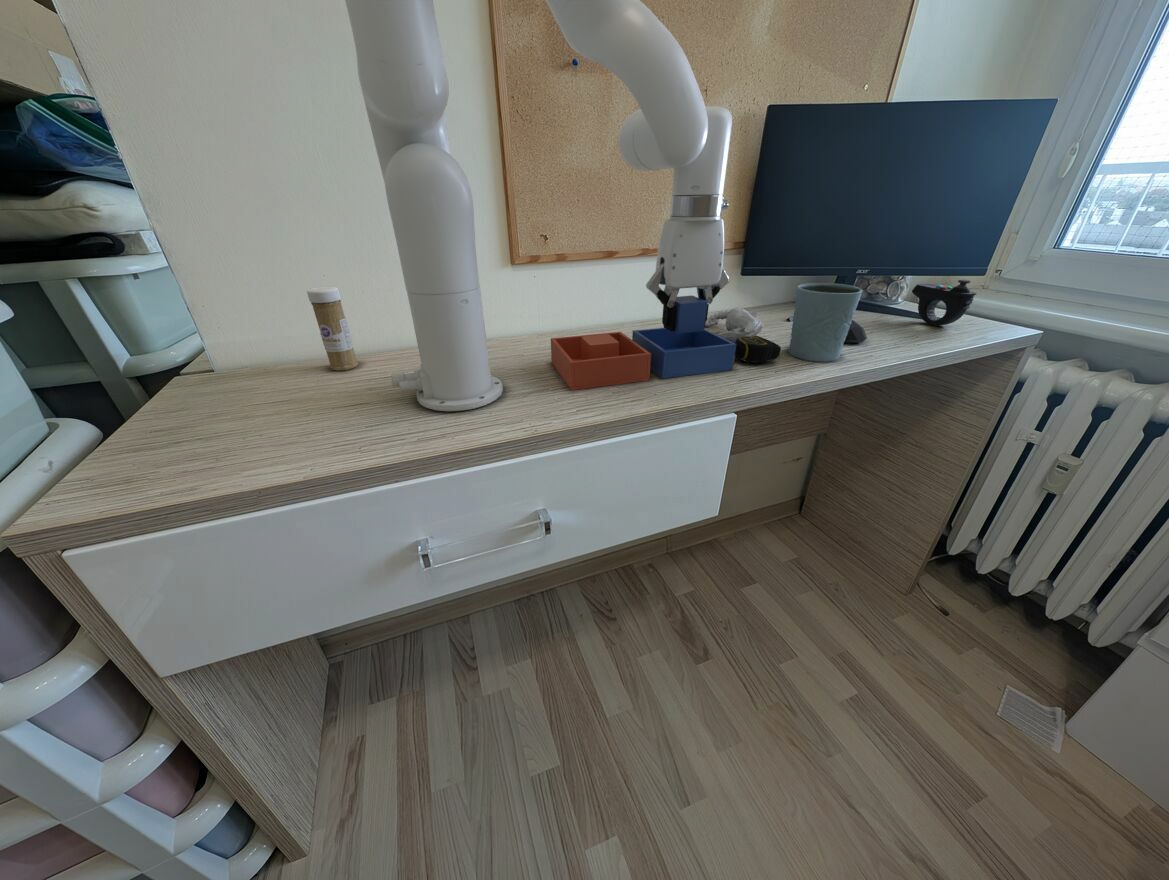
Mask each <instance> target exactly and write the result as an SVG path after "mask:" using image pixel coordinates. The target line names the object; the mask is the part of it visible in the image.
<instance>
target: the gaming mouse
mask: <svg viewBox="0 0 1169 880" xmlns="http://www.w3.org/2000/svg"><path fill="white" fill-rule="evenodd" d="M867 339H868V337H867V333H866V330H865V328H864V327H863V326H862V325H860V324H859V322H857V321H855V320H853V319H852V322H851V325H850V327H849V330H848V333H847V336H846V339H845V341H844V343H849V344H854V343H862V342H865V341H866V340H867Z"/></svg>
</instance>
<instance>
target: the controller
mask: <svg viewBox="0 0 1169 880" xmlns="http://www.w3.org/2000/svg"><path fill="white" fill-rule="evenodd" d="M957 283H959V284H958V285H956V286H951V285H950V286H949V285H947V286H944V285H942V284H939V285H936V284H929V283H918V284H916V285H915V286H914V287H913V289H912V290H911V293H912V294H913V295H914V296H916V297H917V298H918V303H917V304H918V305H917V312H918V315H919V317H920V318H921V320H922V321H923V322H924V323H926V324H928V325H931V326H937V327H938V326H946V325H950V324H953V323H955V322H957V321H958V320H959V319H961V318H962V317H963V316H964V314H965V313H966V312H967V311H968V310H969V309H970V308H971V307H970V306H971V304H972V303H973V301H974V297H975V296H976V295H977V294H978V293H977V292H975V291H971V289H970V288H969V287H968V285H967V284H970V283H971V280H969V279H958V280H957ZM940 302H943V303H944V305H945V308H946V309H945V312H944V314H943V316H942V317H941V318H939V317H938V316H937V315H936V313H935V309H936V307H937V305H938V304H939V303H940Z"/></svg>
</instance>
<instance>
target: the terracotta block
mask: <svg viewBox="0 0 1169 880" xmlns="http://www.w3.org/2000/svg"><path fill="white" fill-rule="evenodd" d="M616 356H619V342H618V341H617V340H616V339H614V338H613V337H612V336H610V335H609V334H605V335H595V336H584V337H581V360H588V359H597V358H607V357H616Z"/></svg>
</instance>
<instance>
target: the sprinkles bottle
mask: <svg viewBox="0 0 1169 880" xmlns="http://www.w3.org/2000/svg"><path fill="white" fill-rule="evenodd" d="M306 294H307V297H308V300H309V302H310V305H311V306H312V309H313V313H314V316H315V319H316V322H317V325H318V329H319V333H320V337H321V340H322V343H323V347H324V350H325V352H326V355H327V358H328V362H329V367H330V369H331V370H334V371H349V370H352V369H354V368H356V367H358V365H359V361H358V359H357V356H356V353H355V349H354V344H353V340H352V336H351V333H350V330H349V325H348V322H347V318H346V316H345V313H344V309H343V305H342V300H341V299H342V297H341V293H340V291H339V288H338V287H337V286H329V285H328V286H326V285H325V286H316V287H311V288H309V289H307V290H306Z"/></svg>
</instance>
